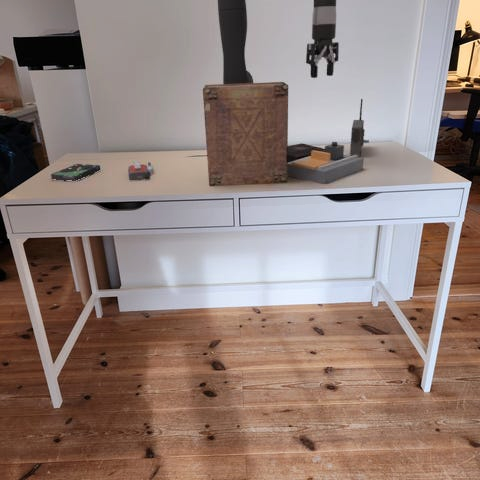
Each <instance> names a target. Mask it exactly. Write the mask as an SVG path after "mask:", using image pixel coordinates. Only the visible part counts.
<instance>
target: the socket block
mask: <svg viewBox="0 0 480 480" xmlns="http://www.w3.org/2000/svg"><path fill="white" fill-rule="evenodd" d="M307 158H311V156H309V157H305V158H302V159H299V160H295V161H292V162H288V163H287V177H288V176H289V177H293V178H298V179H302V180H306V181H309V182H314V183H318V184H323V185H324V183H325V184H327V182H328V183H330V182H333V181H337V180H338V179H342V178H344V177H346V176H349V175H352V174H355V173H358V172H360V171H363V170H364V157H361V156H360V157H358V155H353V156H350V155H348V154H344V155H343V159H341V160H338V161H333V160H330V161H331V163H328V164H325V165H322V166H319V167H317V169H315V170H313V169H309V168H304V167H299V166H295V165H293V162H296V161H300V160H303V159H307Z"/></svg>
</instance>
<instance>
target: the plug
mask: <svg viewBox="0 0 480 480" xmlns="http://www.w3.org/2000/svg"><path fill="white" fill-rule="evenodd" d="M324 149H325V152H326V153H330V160H333V161H338V160H341V159H343V155H345V153H344V152H345V150H344V149H345V145H341V144H338V141H332V142H331V143H330V144H328V145H325V146H324Z"/></svg>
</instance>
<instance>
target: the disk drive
mask: <svg viewBox="0 0 480 480" xmlns="http://www.w3.org/2000/svg"><path fill="white" fill-rule="evenodd" d="M99 170H101V166H100V164H88V163H87V164H85V165H84V164H82V163H75V164H73V165H70V166H68V167H66V168H63V169H61V170H59V171H56V172H53V173H51V174H50V177H51V180H52V179H56V180H72V181H76V180H78V179H81V178H83V177H86V176H88V175H90V174H92V175H94V174H93V173H95V172H97V171H99ZM99 172H100V171H99ZM97 173H98V172H97ZM95 174H96V173H95ZM90 176H91V175H90ZM88 177H89V176H88ZM86 178H87V177H86ZM81 180H82V179H81Z"/></svg>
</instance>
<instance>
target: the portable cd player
mask: <svg viewBox="0 0 480 480" xmlns="http://www.w3.org/2000/svg"><path fill="white" fill-rule="evenodd" d="M313 150H314V151H320V152H325V147H324V148H323V147H318V146H315V145H311V144H306V143H296V144H291V145H288V149H287V163H288V162H292V161H295V160H299V159H302V158H305V157H309V156H311V151H313Z"/></svg>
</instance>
